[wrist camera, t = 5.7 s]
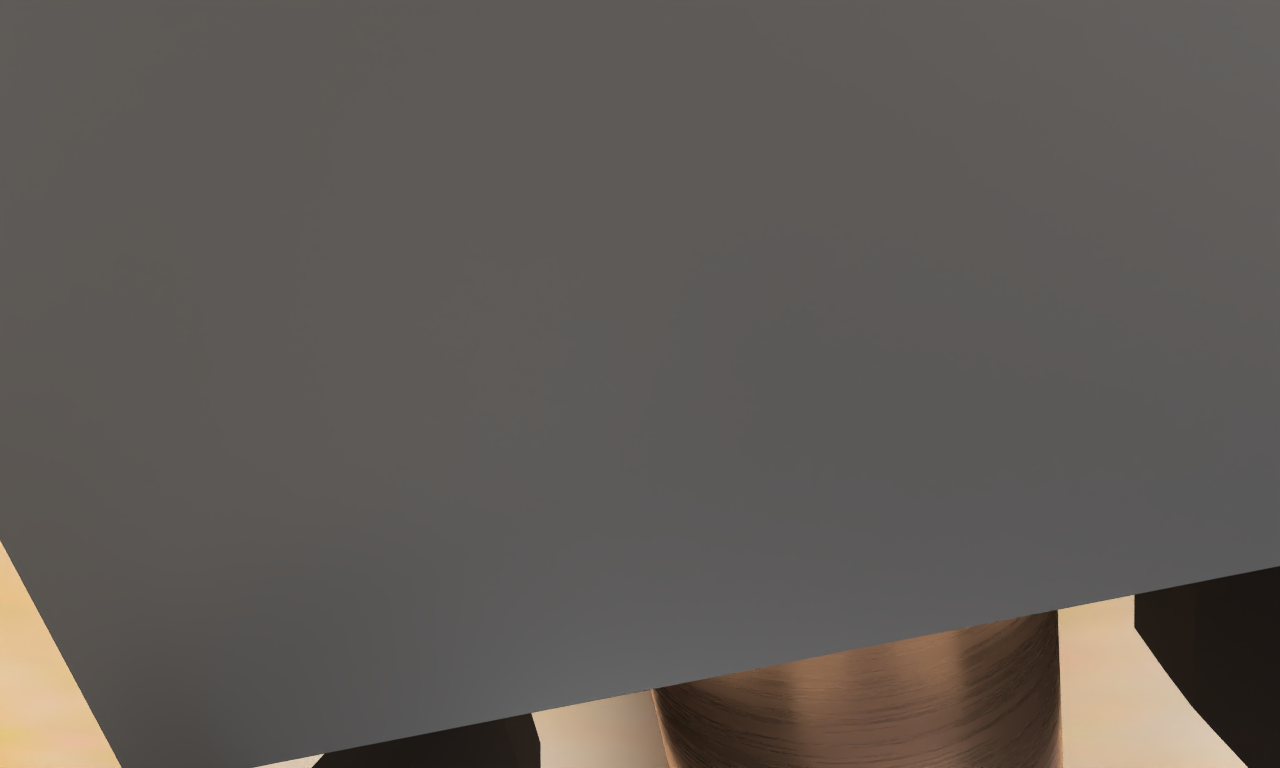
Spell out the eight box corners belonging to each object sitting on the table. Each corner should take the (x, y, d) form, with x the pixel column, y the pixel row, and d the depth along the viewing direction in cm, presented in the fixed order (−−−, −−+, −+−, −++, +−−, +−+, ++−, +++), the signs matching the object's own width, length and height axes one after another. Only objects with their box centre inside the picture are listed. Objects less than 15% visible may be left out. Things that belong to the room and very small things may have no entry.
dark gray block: (1121, -255, 8) (2331, -1063, 2) (1122, 244, 10) (1836, 456, 4) (250, -61, 8) (-491, -382, 3) (398, 394, 10) (135, 791, 4)
